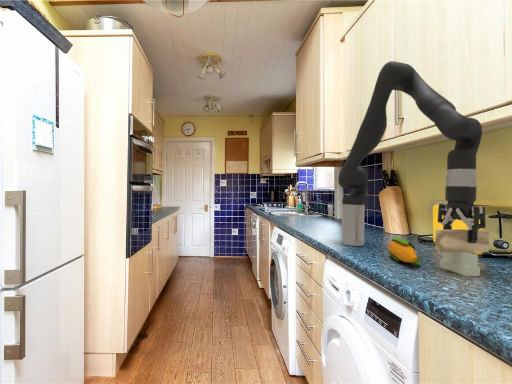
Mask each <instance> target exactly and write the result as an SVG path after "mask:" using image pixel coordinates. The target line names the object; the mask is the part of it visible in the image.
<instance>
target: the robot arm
mask: <svg viewBox="0 0 512 384" xmlns="http://www.w3.org/2000/svg"><path fill="white" fill-rule="evenodd" d="M393 91H398V92H399V91H401V92H402V93H405V94H406V95H408V96H409V97H411V98H412V99H413V101H414V102H415V104H416V106H417V108H418V110H419V111H420V112H421V113H422V114H423V115H424V116H425V117H426V118H428V119H429V120H430V121H431V122H433V123H434V125H435V127H437V129H438V131H439V132H440V133H441V134H442V135H443V136H444V137H446V138H447V139H449V140H450V141H455V145H454V148H453V149H452V150H449V152H448V153H447V158H446V160H447V162H446V174H445V195H444V197H445V198H444V200H445V201H447V203H439V204H438V208H437V209H438V210H437V222H438V224H441V225H442V230H453V226H452V225H453V224H454V222H455V221H457V220H459V221H462V223H464V224H465V225H466V227H467V229H469V230H468V235H467V242H468V243H476V242H477V236H478V230H483V229H486V208H485V206H481V205H480V206H479V205H478V206H475V204H474V203H475V202H476V201H477V186H478V185H477V183H478V182H477V181H478V175H477V153H478V152H479V151H478V150H479V148H480V145H481V139H482V138H483V137H482V136H483V127H482V124H481V122H480V121H479V120H478V119H476V118H474V117H470V116H467V115H466V116H465V115H463V114H461V113H460V112H458V111H457V108H456V106H455V105H454V104H453V102H451V101H449V99H447V98H446V97H445V96H442V94H441V93H439V92H438V91H436V90H435V89H434V88H432V87H431V86H430V85H429V84H428V83H427V82H426V81H425V80H424V79H423V78H422V77H421V75H420V74H419V73H418V71H416V69H415V68H414V67H413V66H412V65H410V64H408V63H404V62H399V61H393V60H389V61H388V62H386V63H385V64H384V65H383V66H382V67H381V69H380V71H379V73H378V75H377V79H376V82H375V85H374V88H373V91H372V95H371V97H370V98H371V99H370V102H369V104H368V107H367V109H366V112H365V115H364V117H363V120H362V122H361V124H360V127H359V129H358V131H357V134H356V137H355V140H354V142H353V144H352V147H351V149H350V151H349V153H348V155H347V157H346V159H345V162H344V163H343V164H342V167H341V168H340V171H339V174H338V180H337V181H338V184H339V186H340V187H341V188H343V189H351V191H350V193H349V194H348V195H346V196H344V197H342V200H341V201H342V202H341V233H340V234H341V236H340V239H341V244H342V245H344V246H354V247H361V246H364V245H365V210H366V207H365V204H366V199H367V197H368V196H367V195H368V194H367V193H368V183H369V182H368V181H369V180H368V179H369V176H368V172H367V170H366V169H365V168H363V167H361V166H360V165H361V163H362V162H363V160H364V159H365V158H366V157H367V156H368V155H369V154H370V153H372V151H374V150H375V149H376V148H377V147H378V146H379V145H380V143H381V141H382V139H383V137H384V134H385V132H386V130H387V126H388V125H387V124H388V119H387V105H388V101H389V99H390V96H391V94H392V93H393Z"/></svg>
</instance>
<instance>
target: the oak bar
mask: <svg viewBox="0 0 512 384" xmlns="http://www.w3.org/2000/svg"><path fill="white" fill-rule="evenodd" d="M468 230H469V229H468V228H467V229H466V228H465V229H464V228H463V229H452V230H443V229H435V238H434V240H435V243H434V244H435V245H434V247H435V249H434V251H439V252H441V253H442V252H445V253H455V252H469V253H489V246H490V231H489V230H483V229H479V230H478V236H477V242H476V243H468V242H467V235H468Z"/></svg>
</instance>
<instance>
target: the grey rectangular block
mask: <svg viewBox="0 0 512 384" xmlns="http://www.w3.org/2000/svg"><path fill="white" fill-rule="evenodd" d="M478 261H479V255H478V254H477V253H474V252H455V253H445V252H442V251H441V258H439V267H440V268H441V269H445V270H447V271H450V272H453V273H456V274H459V275H463V276H465V277H481V266H478V263H479V262H478Z"/></svg>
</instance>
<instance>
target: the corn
mask: <svg viewBox="0 0 512 384" xmlns="http://www.w3.org/2000/svg"><path fill="white" fill-rule="evenodd" d="M387 247H388V253H389V254H390V256H391V258H393V259H394V260H396V261H397V262H399V263H400V262H404V263H410V264H412V265H413V266H414V265H415V266H418V265H420V264H421V260H420V258H419V257H418V255H417V253H416V248H415V246H414V244H412V242H411V241H410V240H407V239H404V238H402V237H401V238H400V237H394V238H391V242H389V244H388V246H387Z"/></svg>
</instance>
